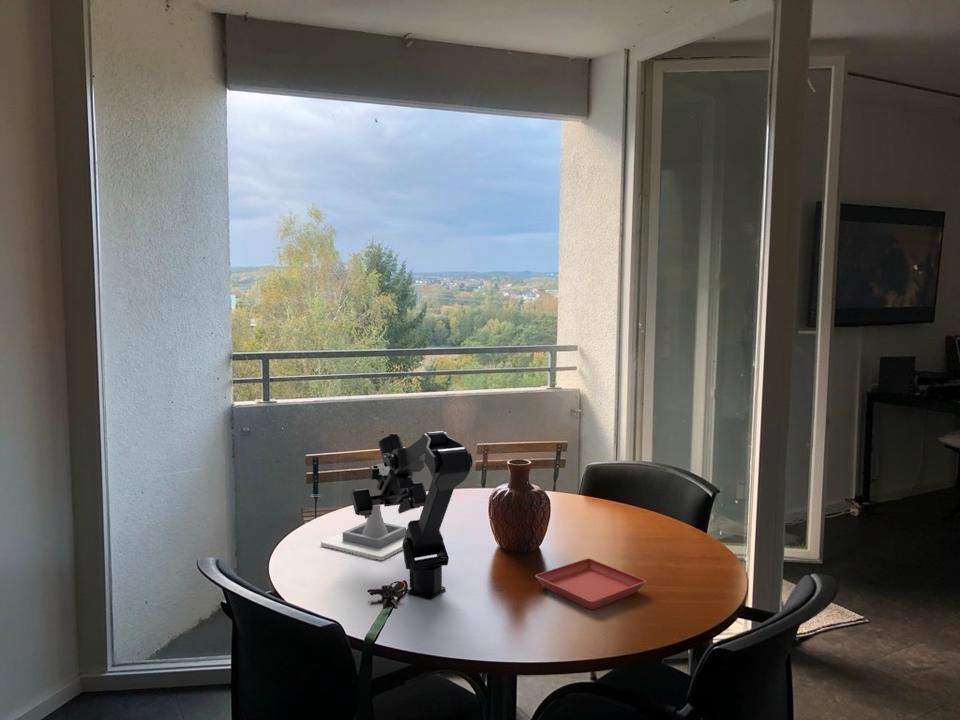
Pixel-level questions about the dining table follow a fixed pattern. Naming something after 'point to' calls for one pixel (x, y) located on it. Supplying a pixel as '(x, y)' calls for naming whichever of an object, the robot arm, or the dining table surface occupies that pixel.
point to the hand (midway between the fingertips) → (382, 514)
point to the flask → (375, 524)
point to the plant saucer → (590, 583)
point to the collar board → (369, 542)
